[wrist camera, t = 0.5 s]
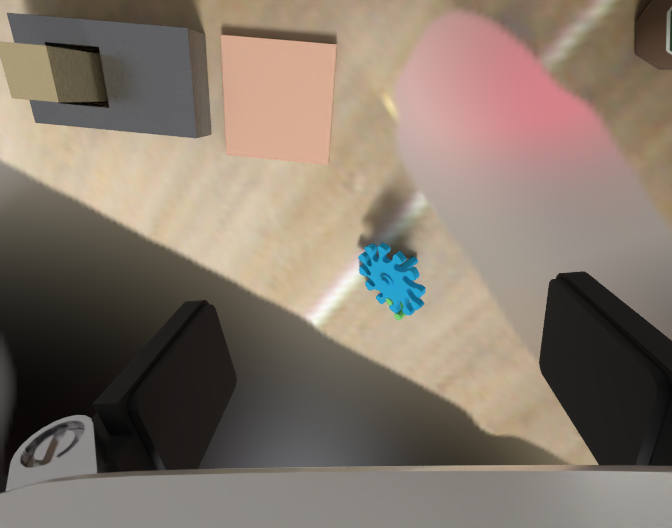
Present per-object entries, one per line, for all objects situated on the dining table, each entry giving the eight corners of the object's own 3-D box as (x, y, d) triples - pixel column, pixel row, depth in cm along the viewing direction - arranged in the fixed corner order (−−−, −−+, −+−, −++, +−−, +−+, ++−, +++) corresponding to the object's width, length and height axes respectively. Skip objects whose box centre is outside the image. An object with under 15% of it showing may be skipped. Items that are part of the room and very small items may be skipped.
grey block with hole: (40, 20, 39) (6, 12, 35) (204, 34, 38) (187, 27, 34) (63, 120, 43) (35, 122, 39) (211, 134, 42) (196, 138, 39)
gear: (347, 239, 45) (412, 260, 37) (379, 218, 47) (445, 234, 40) (364, 307, 50) (423, 336, 43) (392, 285, 53) (451, 309, 46)
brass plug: (80, 53, 40) (-4, 41, 31) (119, 57, 40) (45, 45, 30) (89, 97, 42) (11, 98, 33) (126, 100, 41) (58, 102, 32)
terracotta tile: (223, 35, 38) (220, 34, 37) (337, 45, 37) (336, 44, 37) (228, 153, 43) (226, 154, 42) (328, 163, 42) (328, 164, 42)
